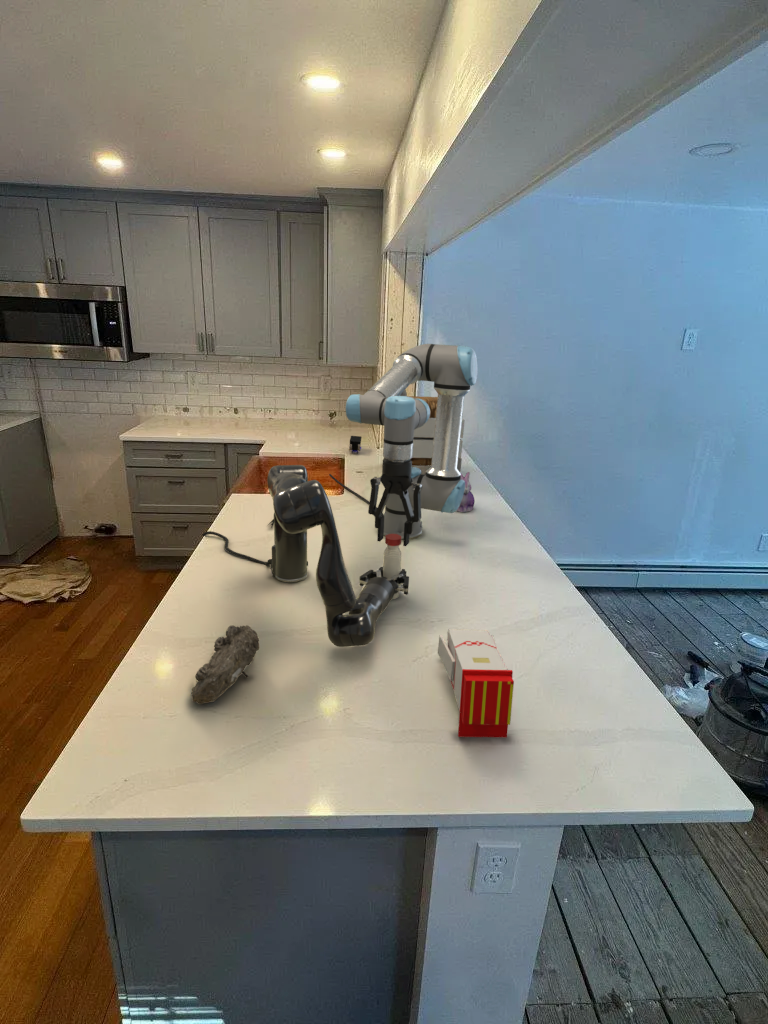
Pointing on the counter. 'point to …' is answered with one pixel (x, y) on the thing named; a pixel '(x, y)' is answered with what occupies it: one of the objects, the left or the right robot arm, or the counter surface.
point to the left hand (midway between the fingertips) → (394, 570)
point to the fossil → (225, 663)
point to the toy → (478, 682)
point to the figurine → (466, 496)
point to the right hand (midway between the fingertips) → (393, 541)
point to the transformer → (428, 436)
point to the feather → (272, 523)
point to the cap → (393, 539)
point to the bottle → (392, 563)
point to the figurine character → (355, 444)
